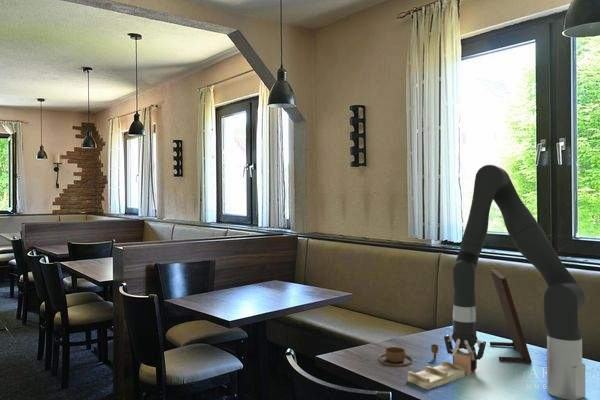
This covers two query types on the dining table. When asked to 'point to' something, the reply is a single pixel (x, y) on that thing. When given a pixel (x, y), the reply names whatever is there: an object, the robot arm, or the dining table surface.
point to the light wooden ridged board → (436, 375)
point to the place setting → (402, 355)
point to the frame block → (463, 360)
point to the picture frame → (510, 320)
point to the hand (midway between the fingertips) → (464, 368)
